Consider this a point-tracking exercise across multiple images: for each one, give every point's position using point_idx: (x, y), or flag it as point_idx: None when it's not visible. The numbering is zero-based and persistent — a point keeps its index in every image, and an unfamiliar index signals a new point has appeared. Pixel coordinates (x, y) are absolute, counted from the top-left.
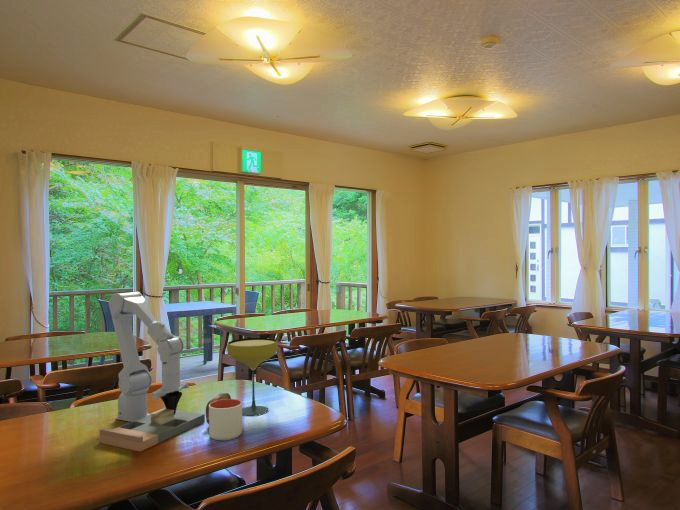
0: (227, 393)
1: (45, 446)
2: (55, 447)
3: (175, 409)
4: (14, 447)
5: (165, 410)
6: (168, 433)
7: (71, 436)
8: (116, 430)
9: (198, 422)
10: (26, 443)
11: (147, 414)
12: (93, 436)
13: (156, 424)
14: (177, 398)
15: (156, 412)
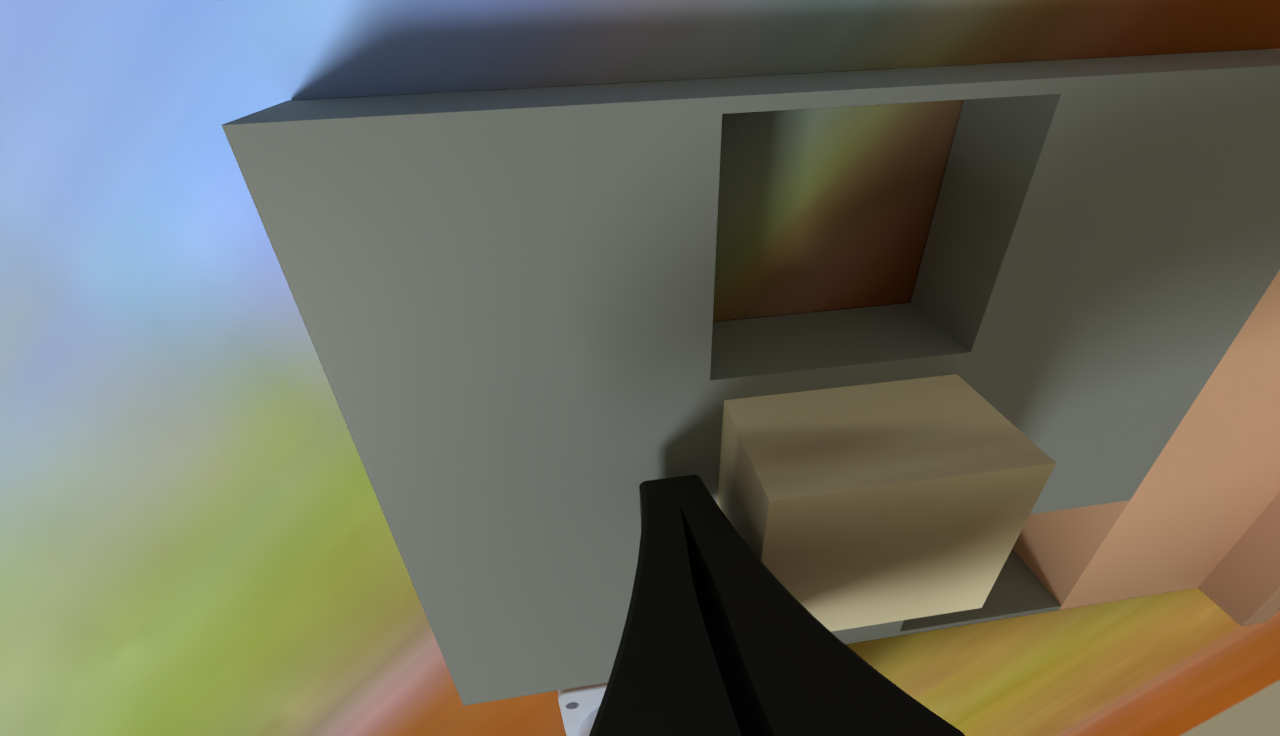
0: None
1: (1184, 665)
2: (1207, 629)
3: (664, 532)
4: (1178, 723)
5: (832, 567)
6: (1160, 63)
7: (1039, 693)
8: (1140, 564)
9: (451, 97)
10: (1131, 730)
11: (587, 712)
12: (1036, 630)
13: None
14: (706, 722)
15: (941, 585)
